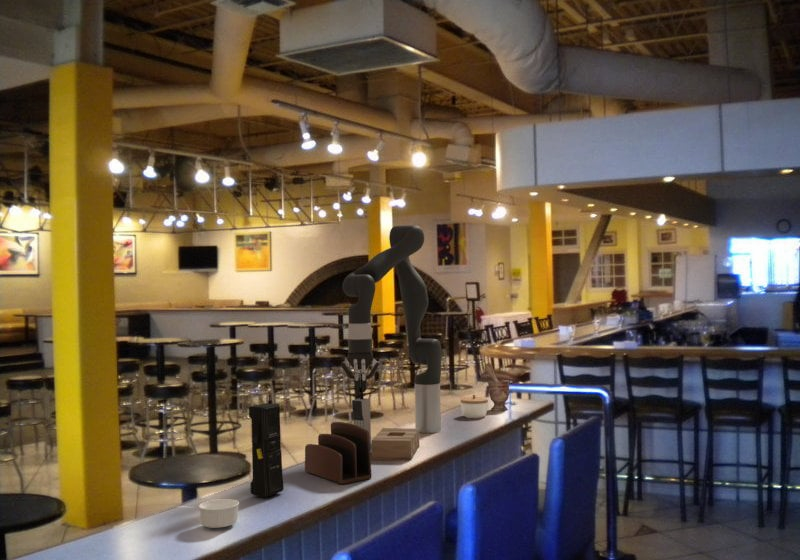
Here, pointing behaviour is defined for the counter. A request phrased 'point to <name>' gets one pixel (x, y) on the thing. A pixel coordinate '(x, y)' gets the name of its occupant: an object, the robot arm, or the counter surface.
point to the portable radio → (266, 449)
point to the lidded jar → (474, 407)
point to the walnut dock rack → (395, 444)
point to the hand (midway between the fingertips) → (361, 392)
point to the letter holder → (340, 454)
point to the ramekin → (219, 513)
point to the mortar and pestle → (497, 390)
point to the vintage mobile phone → (362, 412)
